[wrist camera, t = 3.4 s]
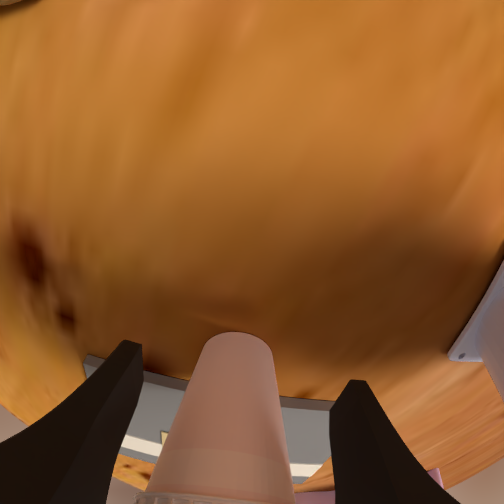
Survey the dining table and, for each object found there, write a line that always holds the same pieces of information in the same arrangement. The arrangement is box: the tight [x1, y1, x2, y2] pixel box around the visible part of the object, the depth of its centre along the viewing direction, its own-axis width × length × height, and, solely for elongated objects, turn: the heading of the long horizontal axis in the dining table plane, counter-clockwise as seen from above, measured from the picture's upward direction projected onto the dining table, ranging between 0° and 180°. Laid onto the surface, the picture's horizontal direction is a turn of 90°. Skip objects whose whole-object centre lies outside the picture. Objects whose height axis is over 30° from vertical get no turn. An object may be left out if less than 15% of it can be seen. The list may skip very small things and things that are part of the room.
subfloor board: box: [83, 354, 336, 484], centre depth 21 cm, size 18×14×1 cm
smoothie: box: [133, 332, 296, 504], centre depth 10 cm, size 6×6×14 cm
